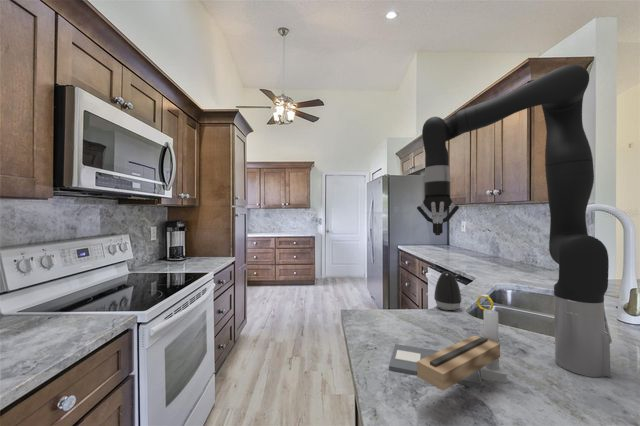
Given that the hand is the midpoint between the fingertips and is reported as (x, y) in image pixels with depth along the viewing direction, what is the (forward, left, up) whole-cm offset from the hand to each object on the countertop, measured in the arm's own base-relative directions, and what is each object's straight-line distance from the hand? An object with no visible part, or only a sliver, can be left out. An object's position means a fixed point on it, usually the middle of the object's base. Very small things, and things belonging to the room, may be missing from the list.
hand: (437, 235), depth 90 cm
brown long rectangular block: (-4, +31, -26) cm, 40 cm away
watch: (-18, -34, -32) cm, 50 cm away
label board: (-1, +20, -32) cm, 38 cm away
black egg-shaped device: (-4, -30, -32) cm, 44 cm away
